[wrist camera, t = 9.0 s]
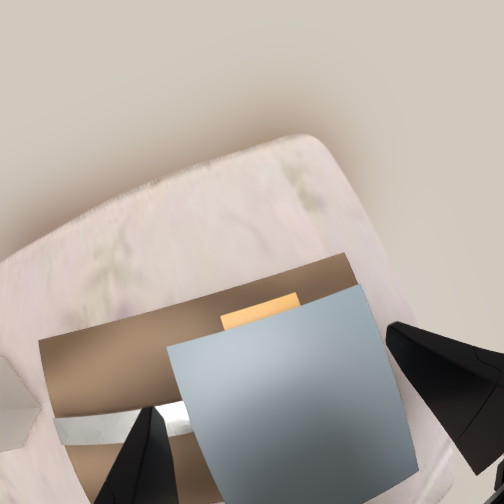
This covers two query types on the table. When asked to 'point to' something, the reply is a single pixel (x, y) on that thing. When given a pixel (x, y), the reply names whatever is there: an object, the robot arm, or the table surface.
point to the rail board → (154, 375)
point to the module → (297, 403)
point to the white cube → (15, 408)
